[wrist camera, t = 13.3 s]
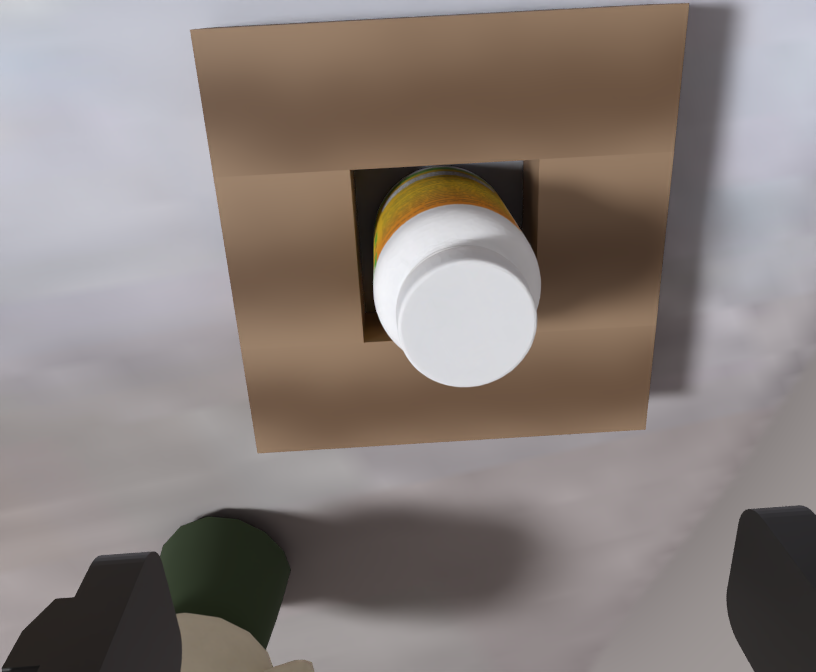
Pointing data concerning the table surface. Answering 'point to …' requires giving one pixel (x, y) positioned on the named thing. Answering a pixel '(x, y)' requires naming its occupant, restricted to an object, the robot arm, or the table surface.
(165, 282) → the table surface
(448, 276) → the supplement bottle
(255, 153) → the walnut bottle holder
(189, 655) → the character mug
